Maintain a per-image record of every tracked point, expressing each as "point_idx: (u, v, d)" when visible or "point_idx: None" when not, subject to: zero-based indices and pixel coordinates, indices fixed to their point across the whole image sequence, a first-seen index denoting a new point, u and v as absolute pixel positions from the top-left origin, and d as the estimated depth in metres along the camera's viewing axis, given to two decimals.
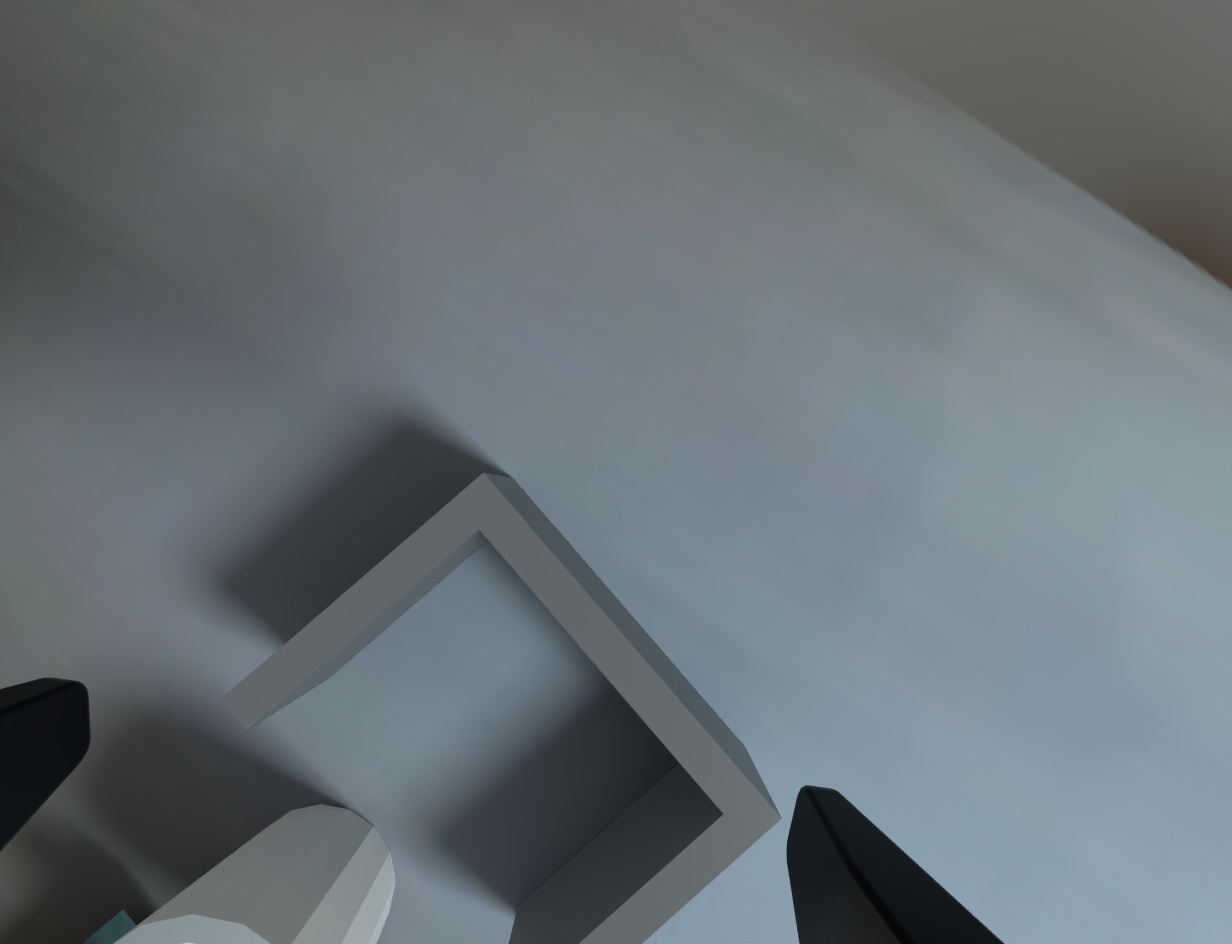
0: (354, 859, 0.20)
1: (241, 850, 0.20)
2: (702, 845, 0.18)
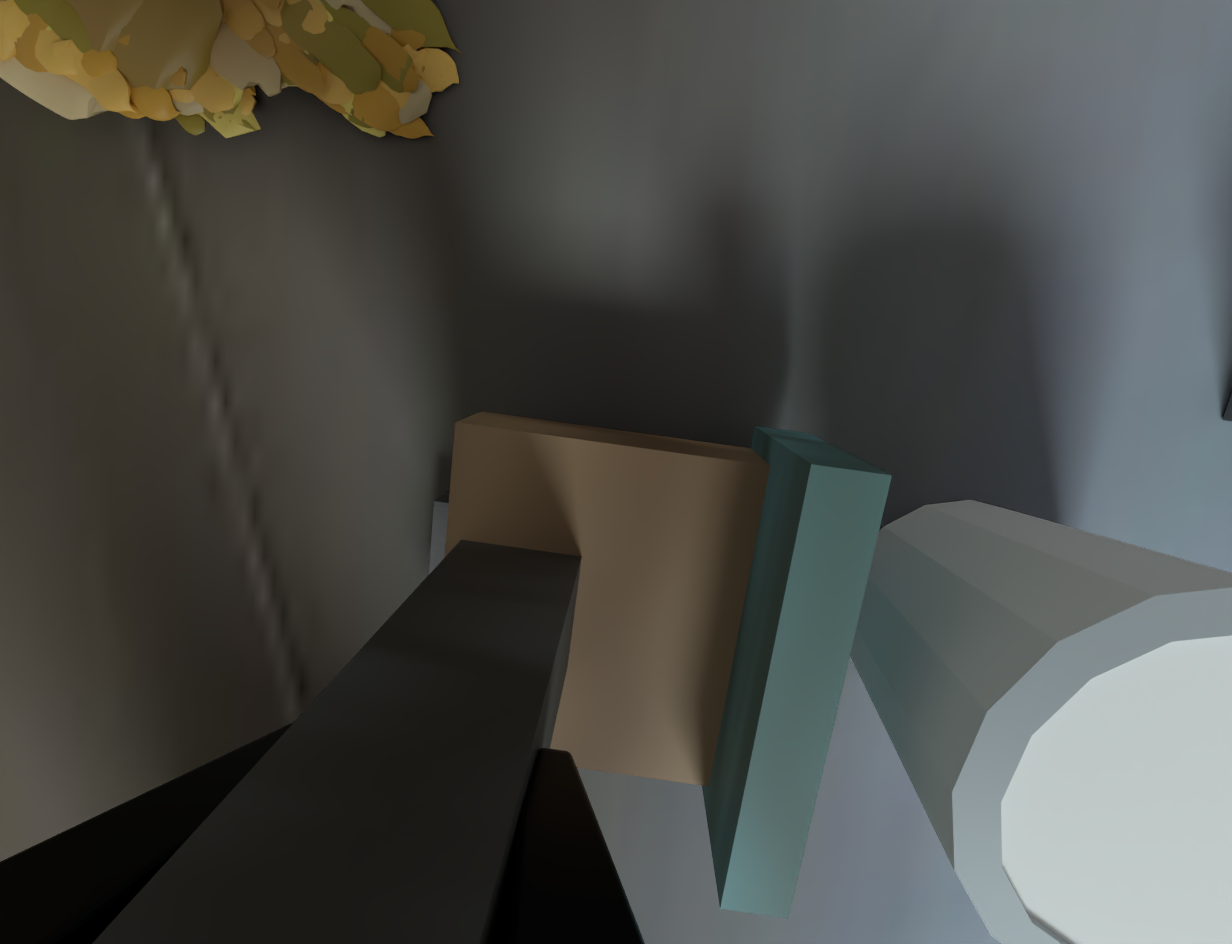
0: None
1: None
2: None
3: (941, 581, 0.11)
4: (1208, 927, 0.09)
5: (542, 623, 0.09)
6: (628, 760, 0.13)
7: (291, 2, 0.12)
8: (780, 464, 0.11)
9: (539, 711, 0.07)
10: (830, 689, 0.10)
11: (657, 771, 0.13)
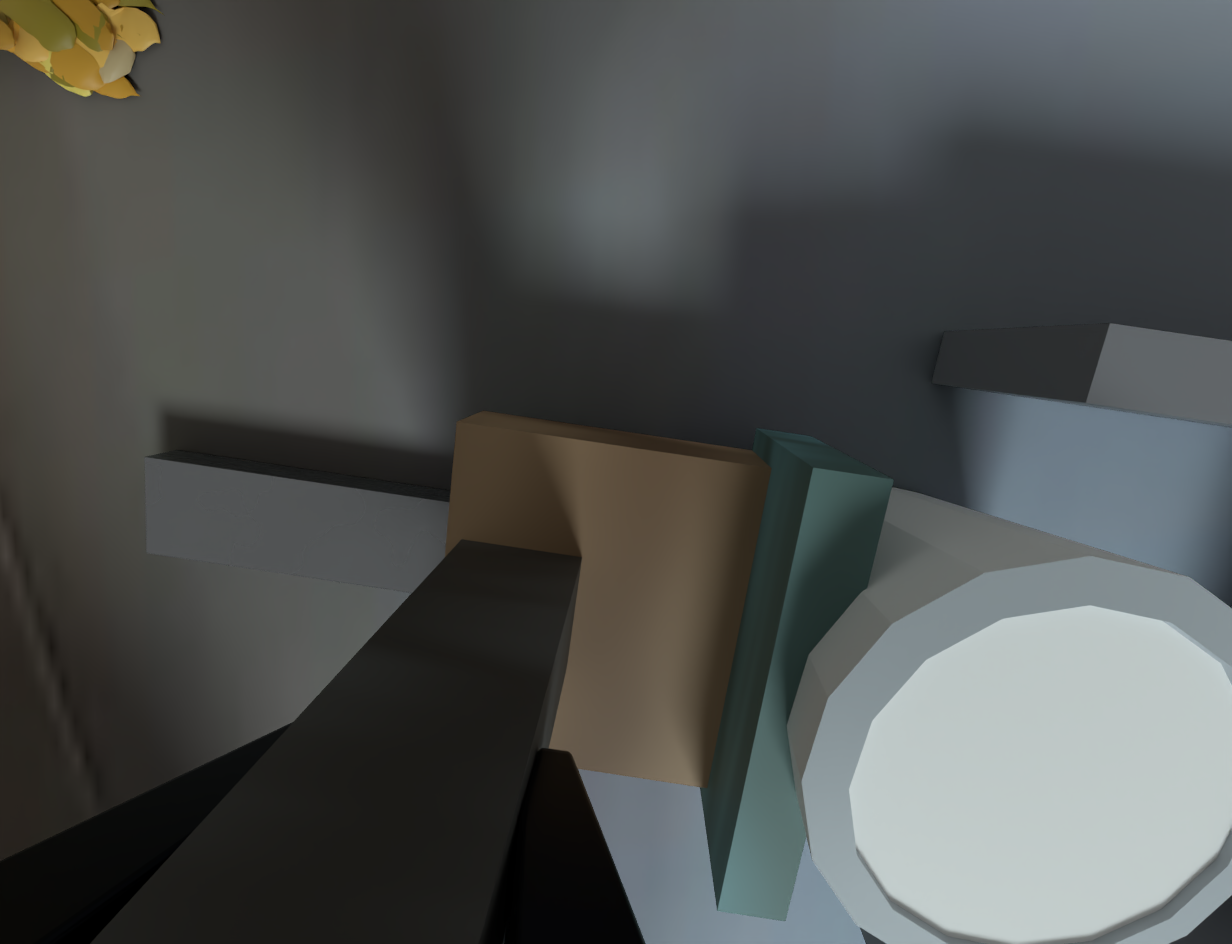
0: None
1: None
2: None
3: None
4: (1072, 905, 0.09)
5: (541, 625, 0.09)
6: (626, 761, 0.13)
7: None
8: (782, 467, 0.11)
9: (538, 713, 0.07)
10: None
11: (655, 772, 0.13)
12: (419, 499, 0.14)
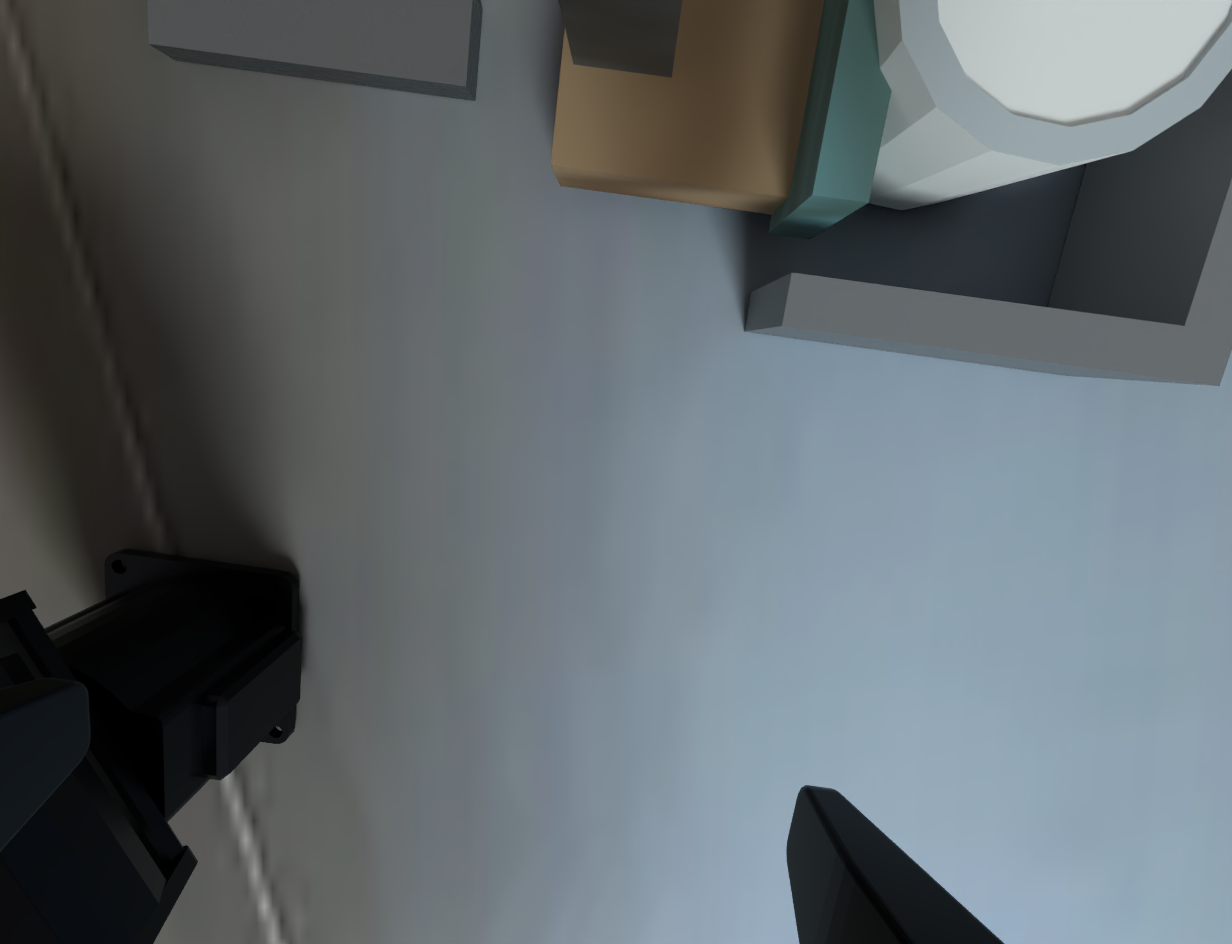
0: None
1: None
2: (1134, 331, 0.14)
3: None
4: (1109, 78, 0.11)
5: None
6: (720, 173, 0.15)
7: None
8: None
9: None
10: None
11: (745, 183, 0.15)
12: None
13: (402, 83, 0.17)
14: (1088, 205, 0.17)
